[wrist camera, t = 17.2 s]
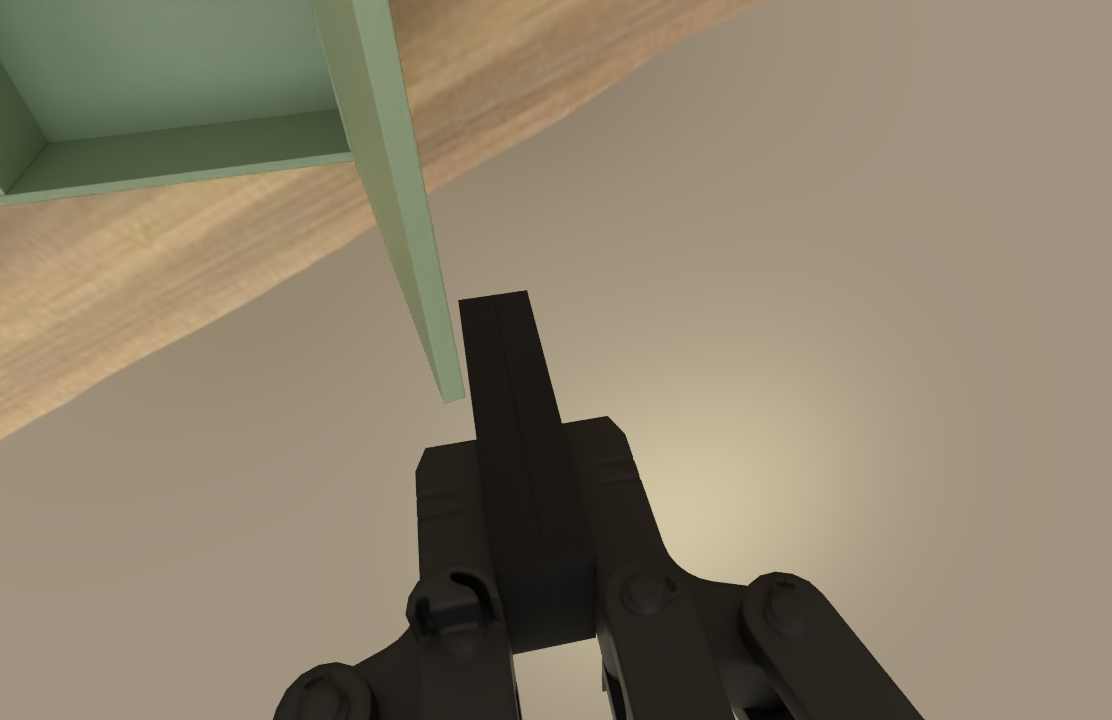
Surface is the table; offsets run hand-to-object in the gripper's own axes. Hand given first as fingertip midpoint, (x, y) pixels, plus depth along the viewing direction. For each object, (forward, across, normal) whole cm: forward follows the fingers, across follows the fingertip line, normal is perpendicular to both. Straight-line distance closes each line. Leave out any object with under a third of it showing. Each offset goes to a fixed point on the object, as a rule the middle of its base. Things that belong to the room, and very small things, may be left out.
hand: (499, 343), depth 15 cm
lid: (+15, -4, 0) cm, 16 cm away
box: (+33, -15, 0) cm, 36 cm away
